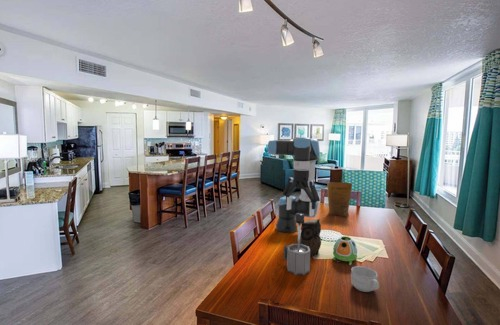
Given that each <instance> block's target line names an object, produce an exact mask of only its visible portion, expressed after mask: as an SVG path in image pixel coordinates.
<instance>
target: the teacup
mask: <svg viewBox="0 0 500 325" xmlns="http://www.w3.org/2000/svg"><path fill="white" fill-rule="evenodd" d="M350 269H351V272H350V282H351V285H353V287H354V288H355V289H356V290H357V291H360V292H362V293H369V292H373V291H377V290H379V287H380V282H379V281H378V275H379V274H378V273H377V271H376V270H374V269H372V268H369V267H367V266H362V265H361V266H360V265H359V266H358V265H357V266H352V267H351V268H350Z"/></svg>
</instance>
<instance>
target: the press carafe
mask: <svg viewBox="0 0 500 325" xmlns="http://www.w3.org/2000/svg"><path fill="white" fill-rule="evenodd" d="M294 247H298V243H291V244H289V245H284V246H283V260H285V261H286V270H287V272H289V273H290V274H293V275H294V276H295V275H297V276H305V275H308V274H309V273H310V272H311V269H310V268H311V257H310V248H309V247H308V246H306V245H303V244H300V247H301V248H304V249H305V250H306V252H294V251H292V250H291V249H292V248H294Z"/></svg>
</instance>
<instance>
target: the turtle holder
mask: <svg viewBox="0 0 500 325" xmlns="http://www.w3.org/2000/svg"><path fill="white" fill-rule="evenodd" d="M332 250H333V252H332V254H333V256H334V257H333V261H337V260H339V261H342V262H348V265H349V266H352V264H353V261H356V260H357V259H358V247H357V244H356V242H355V241H354V239H353V238H352V237H351V236H349V235H348V236H347V235H343V236H340V237H339V238H338V239H337V240H336V241H335V242H334V245H333V249H332Z"/></svg>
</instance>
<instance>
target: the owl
mask: <svg viewBox="0 0 500 325" xmlns="http://www.w3.org/2000/svg"><path fill="white" fill-rule="evenodd" d="M321 231H322V226H321V223H320V218H316V219H311V220H307V221H304V223H302V224H301V233H300V244H303V245H306V246H308V247H309V248H310V258H312V257H315V256H318V255H319V251H320V249H321V245H322V240H321V239H322V237H321V235H320V234H321Z"/></svg>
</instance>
